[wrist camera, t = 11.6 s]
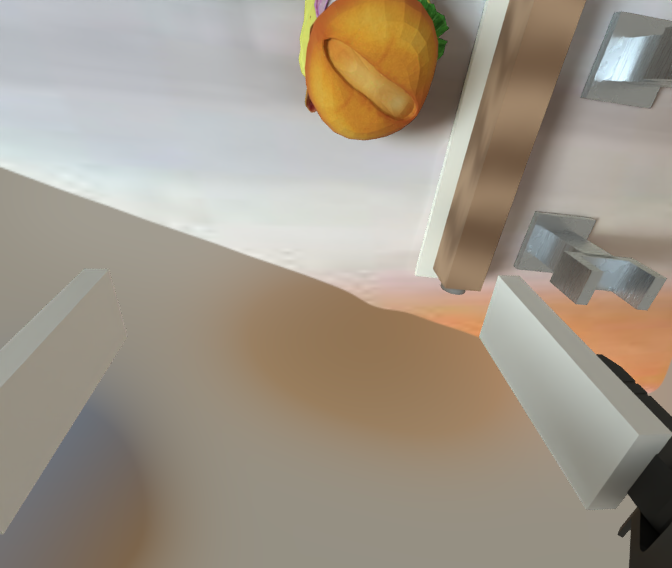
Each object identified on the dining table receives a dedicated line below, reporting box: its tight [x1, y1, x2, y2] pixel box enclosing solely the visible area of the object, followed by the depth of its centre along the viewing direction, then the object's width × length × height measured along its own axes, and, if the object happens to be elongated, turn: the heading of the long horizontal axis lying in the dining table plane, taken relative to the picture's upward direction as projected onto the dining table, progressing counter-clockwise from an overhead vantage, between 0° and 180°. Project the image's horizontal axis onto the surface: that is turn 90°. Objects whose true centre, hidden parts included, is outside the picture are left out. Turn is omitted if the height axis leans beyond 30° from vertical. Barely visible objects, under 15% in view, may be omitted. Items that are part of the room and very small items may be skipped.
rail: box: [433, 0, 586, 295], centre depth 32 cm, size 26×4×4 cm, turn 172°
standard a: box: [514, 211, 667, 310], centre depth 35 cm, size 6×6×10 cm
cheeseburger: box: [299, 0, 449, 140], centre depth 27 cm, size 10×11×10 cm
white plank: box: [415, 0, 509, 278], centre depth 34 cm, size 26×7×1 cm, turn 172°
